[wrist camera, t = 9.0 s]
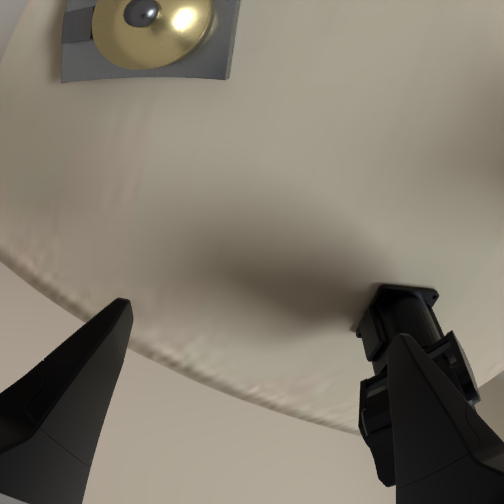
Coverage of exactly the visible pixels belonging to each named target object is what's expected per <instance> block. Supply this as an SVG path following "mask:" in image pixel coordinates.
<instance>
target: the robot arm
mask: <svg viewBox="0 0 504 504" xmlns="http://www.w3.org/2000/svg"><path fill="white" fill-rule="evenodd" d="M385 290H386V291H385ZM383 291H384V292H383ZM438 297H439V294H438V292H437V291H436V290H428V289H418V288H409V287H399V286H390V285H383V286H381V287H380V288H379V289H378V291H377V293H376V295H375V297H374V299H373V301H372V303H371V305H370V306H369V307H368V309H367V311H366V312H365V314H364V316H363V318H362V320H361V322H360V323H359V326H358V328H357V330H356V332H355V333H356V336H357V337H358V338H362V341H363V345H364V349H365V354H366V358H367V360H368V361H369V362H372V365H373V369H374V373H375V376H373V377H371V378H369V379H365V380H363V381H361V382H360V404H359V424H358V427H359V429H360V433H361V435H362V437H363V439H364V441H365V443H366V444H367V445H368V447H369V448H370V450H371V452H372V455H373V458H374V462H375V465H376V470H377V475H378V478H379V480H380V481H381V482H382V483H383V484H384V485H385V486H386V487H391V486H394V485H396V504H504V442H503V441H502V440H501V439H500V438H499V437H498V436H497V434H496V433H495V432H494V431H493V430H492V429H491V428H490V427H489V426H488V425H487V424H486V423H485V422H484V420H483V419H481V417H480V416H479V415H478V414H477V412H476V409H475V406H474V405H475V404H476V403H478V402H480V401H481V399H480V395H479V391H478V388H477V384H476V381H475V378H474V374H473V371H472V369H471V366H470V364H469V362H468V359H467V357H466V355H465V352H464V350H463V349H462V347H461V345H460V343H459V341H458V340H457V338H456V336H455V334H454V333H453V331H450V332H449V333H447V335H446V336H444V334H443V332H442V330H441V327H440V325H439V323H438V321H437V318H436V316H435V314H434V312H433V310H432V307H433V305H434V304H435V302H436V300H437V299H438ZM132 325H133V312H132V307H131V302H130V300H128V299H124V298H117V299H115V300H114V301H113V302H111V303H110V304H109V305H108V306H106V307H105V308H104V309H103V310H102V311H100V312H99V313H98V314H97V315H95V316H94V317H93V318H92V319H91V320H89V321H88V322H87V323H86V324H84V325H83V326H82V327H81V328H80V329H79V330H77V331H76V332H75V333H74V334H73V335H71V336H70V337H69V338H68V339H67V340H65V341H64V342H63V343H62V344H61V345H59V346H58V347H57V348H56V349H55V350H54V351H52V352H51V353H50V354H49V355H48V356H47V357H46V358H44V361H41V362H40V363H39V364H38V365H37V366H35V367H34V368H33V369H32V370H30V371H29V372H28V373H27V374H26V375H25V376H23V377H22V378H20V379H19V380H18V381H17V382H15V383H14V384H12V385H11V386H10V387H8V388H7V389H6V390H4V391H3V392H1V393H0V504H82V501H83V496H84V493H85V489H86V484H87V480H88V476H89V472H90V467H91V464H92V461H93V457H94V453H95V450H96V446H97V443H98V439H99V436H100V432H101V429H102V426H103V423H104V419H105V416H106V413H107V410H108V406H109V404H110V401H111V397H112V394H113V391H114V388H115V385H116V382H117V380H118V377H119V374H120V371H121V368H122V365H123V361H124V357H125V353H126V349H127V345H128V341H129V337H130V333H131V329H132Z"/></svg>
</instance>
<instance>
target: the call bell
mask: <svg viewBox="0 0 504 504" xmlns="http://www.w3.org/2000/svg"><path fill="white" fill-rule="evenodd" d="M240 1H241V0H67V7H66V12H65V13H64V21H63V32H62V44H63V47H62V70H61V83H66V82H74V81H83V80H94V79H107V78H125V77H185V78H204V79H218V80H226V79H228V78H229V77H230V70H231V62H232V55H233V48H234V41H235V34H236V27H237V20H238V14H239V8H240Z"/></svg>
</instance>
